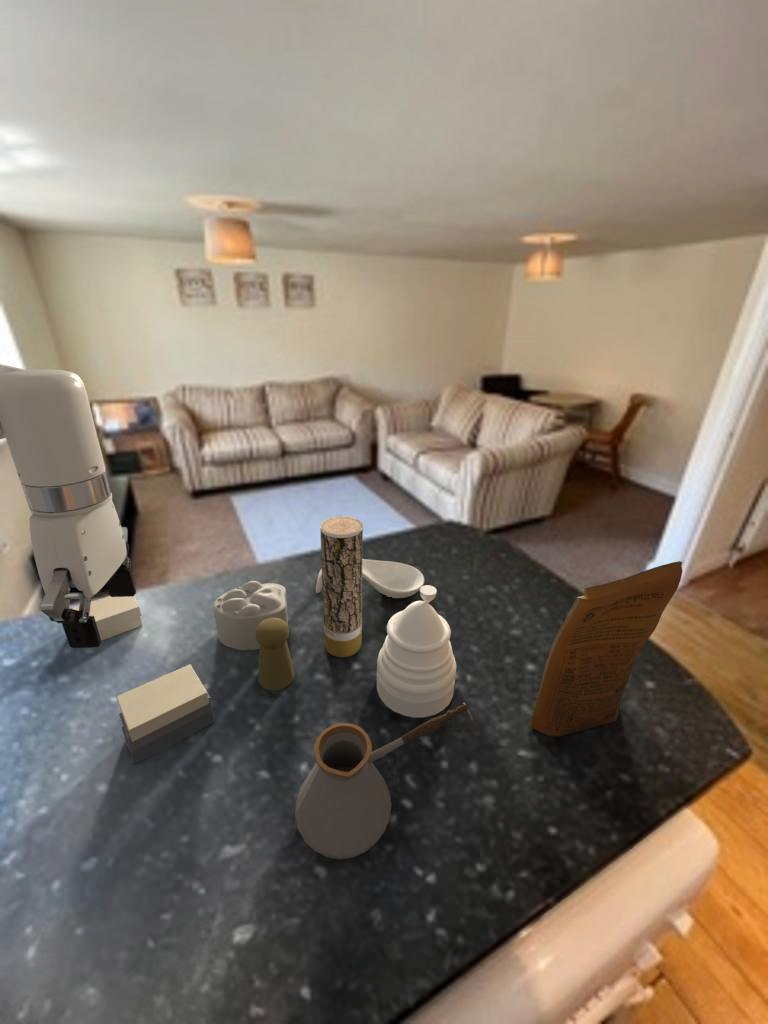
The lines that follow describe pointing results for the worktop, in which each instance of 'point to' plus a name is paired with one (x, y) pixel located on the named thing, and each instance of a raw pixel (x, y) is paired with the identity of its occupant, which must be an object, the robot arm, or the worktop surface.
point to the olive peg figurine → (274, 654)
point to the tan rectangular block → (115, 615)
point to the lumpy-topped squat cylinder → (248, 613)
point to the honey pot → (417, 660)
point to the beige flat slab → (162, 701)
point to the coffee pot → (350, 789)
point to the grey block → (168, 733)
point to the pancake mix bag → (600, 650)
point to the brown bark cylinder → (342, 584)
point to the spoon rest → (388, 578)
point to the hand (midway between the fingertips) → (106, 618)
